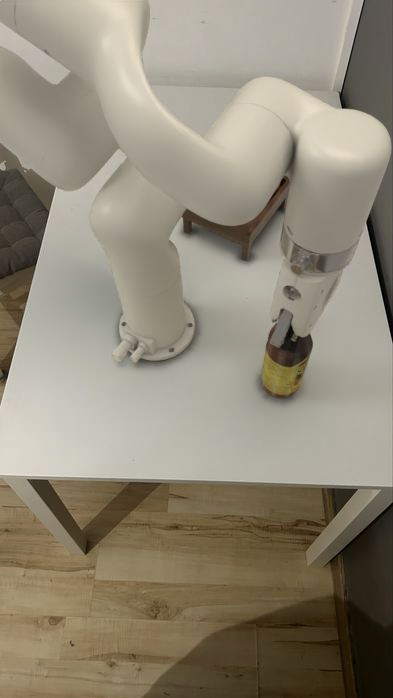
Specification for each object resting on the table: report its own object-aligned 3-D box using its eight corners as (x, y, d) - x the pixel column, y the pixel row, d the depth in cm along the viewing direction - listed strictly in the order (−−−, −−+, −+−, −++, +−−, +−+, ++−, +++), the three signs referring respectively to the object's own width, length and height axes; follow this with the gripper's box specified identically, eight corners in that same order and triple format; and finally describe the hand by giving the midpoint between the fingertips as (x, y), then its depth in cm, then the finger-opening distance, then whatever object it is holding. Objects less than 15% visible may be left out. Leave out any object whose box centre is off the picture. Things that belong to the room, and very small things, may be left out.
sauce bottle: (297, 403, 76) (321, 338, 59) (257, 396, 77) (269, 330, 60) (302, 365, 79) (326, 293, 62) (263, 359, 80) (275, 286, 63)
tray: (247, 262, 90) (249, 235, 84) (182, 232, 94) (180, 205, 88) (287, 206, 97) (292, 178, 91) (225, 181, 101) (226, 152, 94)
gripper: (317, 314, 45) (289, 396, 61) (386, 199, 52) (345, 300, 68) (244, 280, 47) (236, 368, 63) (320, 173, 54) (296, 277, 70)
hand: (293, 332), depth 66 cm, fingers closed on sauce bottle, 4 cm apart
